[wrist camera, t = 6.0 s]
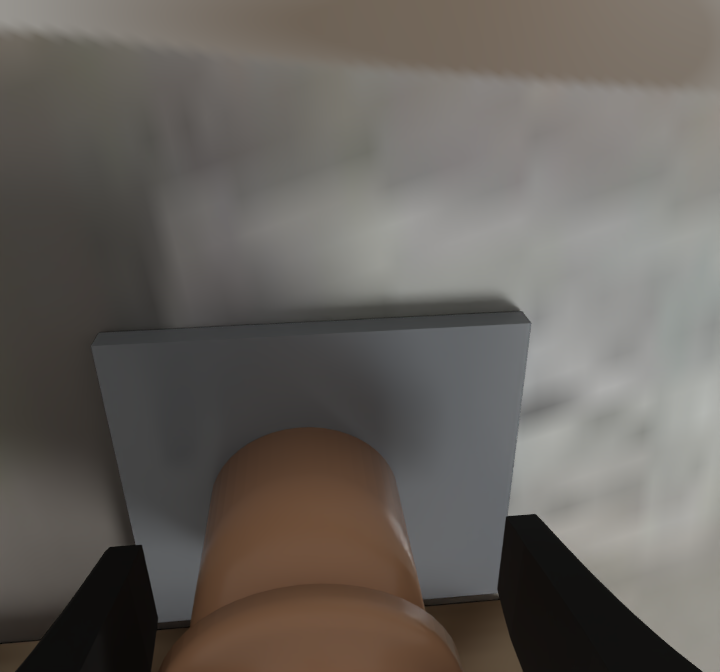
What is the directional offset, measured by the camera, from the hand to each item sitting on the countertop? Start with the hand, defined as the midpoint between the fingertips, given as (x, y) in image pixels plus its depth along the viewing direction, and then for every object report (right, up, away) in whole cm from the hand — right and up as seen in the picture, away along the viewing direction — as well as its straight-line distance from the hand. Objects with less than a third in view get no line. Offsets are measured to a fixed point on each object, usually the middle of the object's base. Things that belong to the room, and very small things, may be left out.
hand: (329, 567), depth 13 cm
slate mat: (0, +1, +3) cm, 3 cm away
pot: (-1, +1, +2) cm, 2 cm away
